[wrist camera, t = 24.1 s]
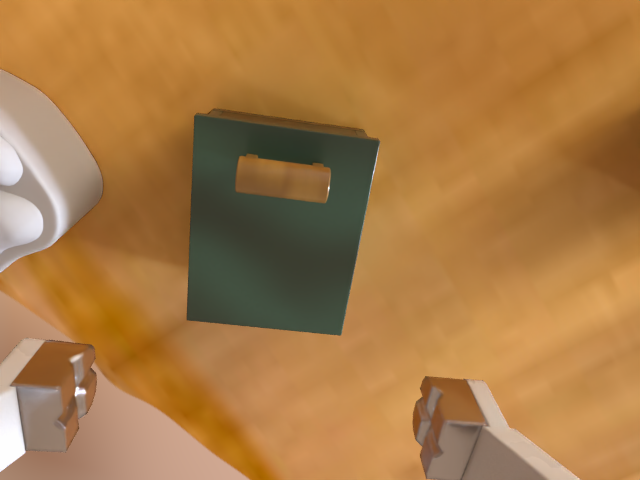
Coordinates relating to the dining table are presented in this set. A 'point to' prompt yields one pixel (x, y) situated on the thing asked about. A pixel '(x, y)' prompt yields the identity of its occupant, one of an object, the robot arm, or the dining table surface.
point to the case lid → (275, 223)
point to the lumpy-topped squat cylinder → (39, 172)
